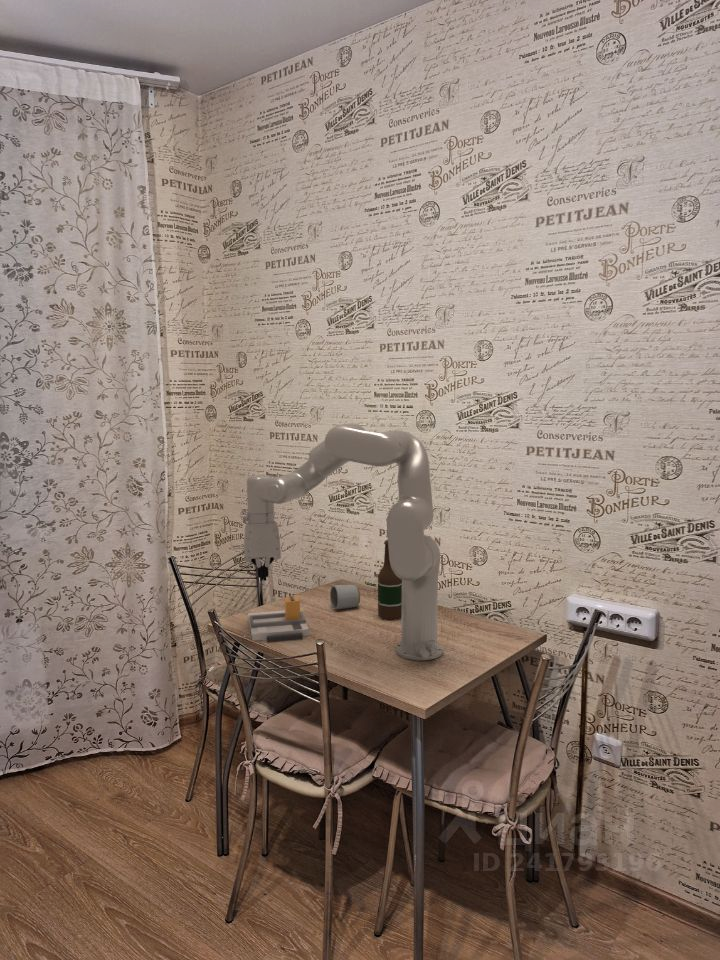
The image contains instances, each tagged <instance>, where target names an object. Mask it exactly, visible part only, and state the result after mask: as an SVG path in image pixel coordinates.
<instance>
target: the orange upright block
mask: <svg viewBox="0 0 720 960" xmlns="http://www.w3.org/2000/svg"><path fill="white" fill-rule="evenodd" d="M283 599H284V610H285V619H286V620H296V619H300V610H301V603H300V598H299V596H287V597H284V598H283Z"/></svg>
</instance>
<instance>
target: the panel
mask: <svg viewBox="0 0 720 960" xmlns="http://www.w3.org/2000/svg"><path fill="white" fill-rule="evenodd" d="M247 620H248V621H247V622H248V625H249V631H250V637H251V641H252V642H257V641H267V636H272V635H283V634H294V633H302V634H303V637H308V636H310V633H309V631H310V630H309V627H308V624H307V622H306V621H307V620H306V618H305V616H304V613H303V611H302V610H301V609H300V619H296V620H286V619H285V609H283V610H274V611H262V612H261V611H260V612H250V613H249V612H248V613H247Z"/></svg>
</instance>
